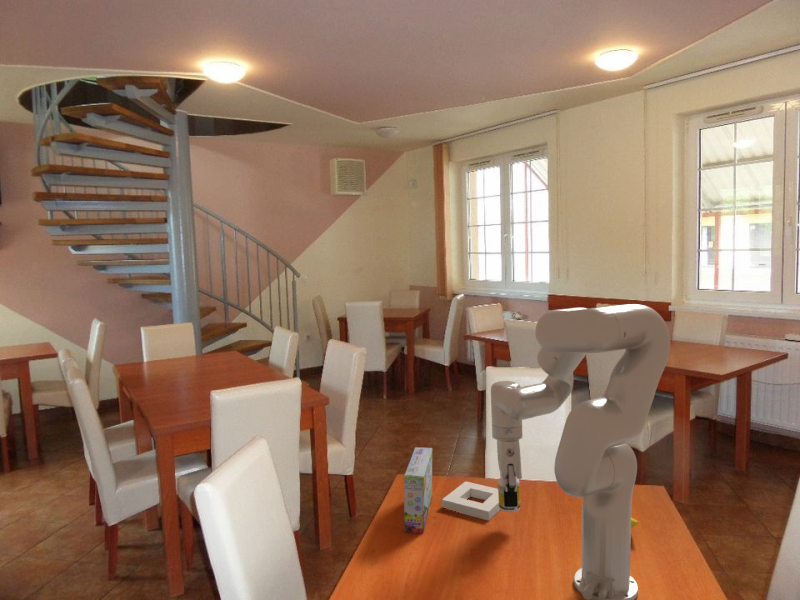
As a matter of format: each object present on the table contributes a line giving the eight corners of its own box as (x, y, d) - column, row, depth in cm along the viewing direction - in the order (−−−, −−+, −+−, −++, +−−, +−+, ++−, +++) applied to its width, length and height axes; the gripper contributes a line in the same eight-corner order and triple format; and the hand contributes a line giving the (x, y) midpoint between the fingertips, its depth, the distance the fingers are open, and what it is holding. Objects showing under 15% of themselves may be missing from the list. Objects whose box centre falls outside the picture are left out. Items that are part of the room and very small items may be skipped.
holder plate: (489, 520, 151) (488, 511, 151) (442, 508, 158) (442, 499, 158) (510, 500, 162) (510, 491, 162) (465, 489, 170) (465, 481, 170)
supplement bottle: (512, 502, 150) (511, 465, 150) (524, 509, 145) (523, 471, 145) (494, 506, 148) (493, 469, 147) (506, 514, 143) (505, 476, 142)
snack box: (425, 534, 145) (424, 476, 143) (403, 533, 146) (402, 475, 144) (433, 497, 166) (432, 446, 164) (414, 496, 166) (413, 445, 165)
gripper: (527, 441, 136) (529, 515, 138) (517, 421, 154) (519, 487, 155) (495, 442, 137) (498, 516, 138) (489, 421, 154) (491, 488, 155)
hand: (509, 500), depth 146 cm, fingers closed on supplement bottle, 5 cm apart
